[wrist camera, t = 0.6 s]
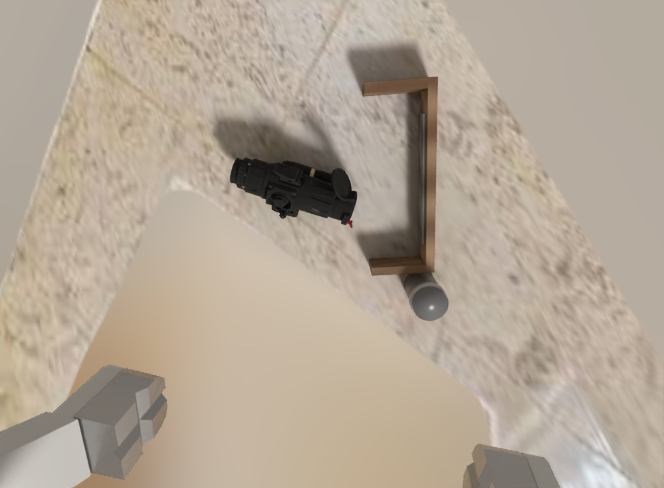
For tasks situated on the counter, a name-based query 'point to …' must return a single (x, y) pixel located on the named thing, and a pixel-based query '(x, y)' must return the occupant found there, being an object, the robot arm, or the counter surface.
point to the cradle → (426, 174)
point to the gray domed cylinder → (426, 296)
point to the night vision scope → (297, 188)
